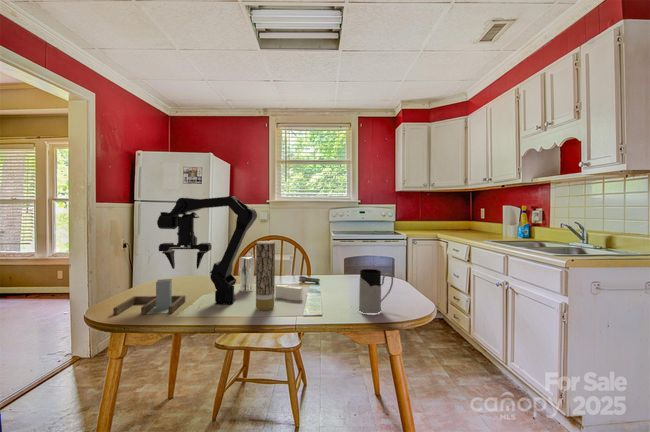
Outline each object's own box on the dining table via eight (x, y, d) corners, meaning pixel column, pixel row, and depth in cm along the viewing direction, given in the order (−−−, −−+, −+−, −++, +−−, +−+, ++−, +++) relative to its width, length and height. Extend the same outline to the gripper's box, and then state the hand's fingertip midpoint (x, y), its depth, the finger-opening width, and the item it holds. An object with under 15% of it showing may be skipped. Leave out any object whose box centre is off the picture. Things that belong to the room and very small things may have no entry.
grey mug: (353, 309, 123) (354, 269, 122) (385, 305, 128) (386, 267, 128) (365, 316, 115) (366, 274, 114) (399, 312, 120) (399, 271, 120)
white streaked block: (250, 292, 145) (250, 258, 145) (236, 291, 147) (236, 258, 146) (256, 288, 152) (257, 256, 152) (242, 288, 153) (243, 256, 153)
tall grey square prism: (171, 305, 124) (171, 279, 124) (169, 308, 120) (169, 281, 119) (158, 306, 123) (158, 279, 122) (156, 309, 118) (156, 282, 118)
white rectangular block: (309, 301, 135) (309, 287, 135) (285, 305, 128) (285, 291, 128) (291, 293, 147) (291, 280, 147) (268, 297, 140) (268, 283, 140)
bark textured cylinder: (258, 312, 118) (259, 242, 118) (253, 307, 124) (254, 241, 124) (276, 309, 121) (277, 242, 121) (270, 304, 127) (271, 240, 127)
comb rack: (185, 301, 130) (185, 295, 130) (172, 313, 115) (172, 306, 115) (133, 302, 128) (133, 296, 128) (113, 315, 113) (113, 308, 113)
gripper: (214, 228, 139) (214, 265, 140) (168, 228, 137) (168, 265, 137) (208, 230, 128) (208, 269, 129) (158, 229, 126) (158, 270, 126)
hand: (185, 268), depth 130 cm, fingers open, 9 cm apart
